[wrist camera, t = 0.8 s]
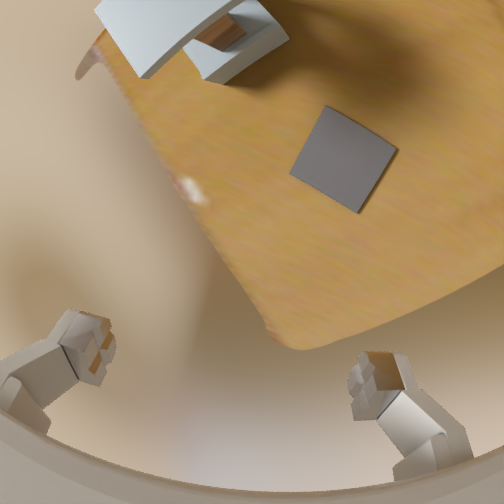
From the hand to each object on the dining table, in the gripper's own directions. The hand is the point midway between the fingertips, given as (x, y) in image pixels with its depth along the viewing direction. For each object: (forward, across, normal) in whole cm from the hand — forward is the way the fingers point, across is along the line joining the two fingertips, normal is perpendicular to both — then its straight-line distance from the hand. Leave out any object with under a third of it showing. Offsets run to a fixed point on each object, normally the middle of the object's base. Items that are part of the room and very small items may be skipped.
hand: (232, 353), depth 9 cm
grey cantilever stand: (+42, +6, -16) cm, 46 cm away
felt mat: (+37, -12, 0) cm, 39 cm away
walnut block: (+36, +7, -17) cm, 41 cm away
